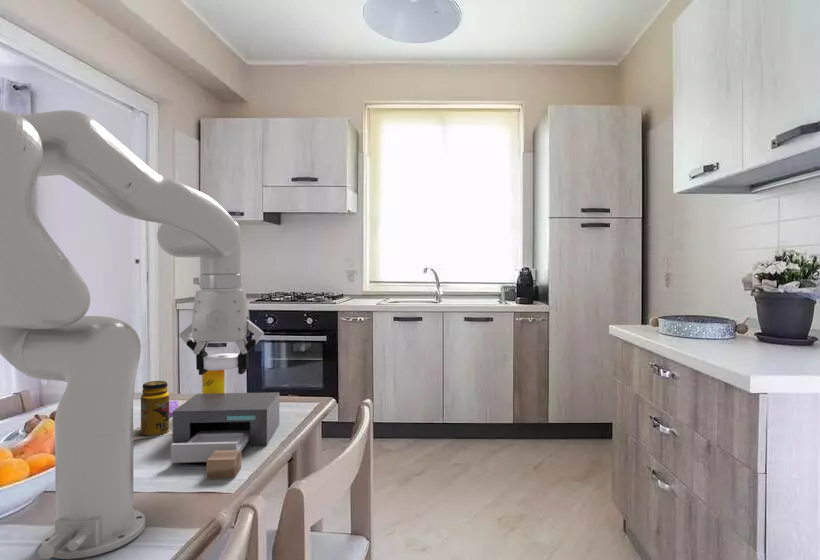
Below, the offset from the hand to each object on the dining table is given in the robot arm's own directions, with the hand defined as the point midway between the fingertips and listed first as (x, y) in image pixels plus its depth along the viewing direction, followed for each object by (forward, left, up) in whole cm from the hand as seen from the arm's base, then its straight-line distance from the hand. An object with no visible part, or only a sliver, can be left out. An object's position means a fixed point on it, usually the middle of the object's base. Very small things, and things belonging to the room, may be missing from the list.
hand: (222, 372), depth 100 cm
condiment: (+21, +23, -19) cm, 36 cm away
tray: (+7, +4, -17) cm, 19 cm away
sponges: (+40, +27, -19) cm, 52 cm away
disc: (0, 0, +1) cm, 1 cm away
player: (+18, +4, -18) cm, 26 cm away
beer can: (+40, +14, -19) cm, 46 cm away
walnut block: (-5, -1, -18) cm, 19 cm away
